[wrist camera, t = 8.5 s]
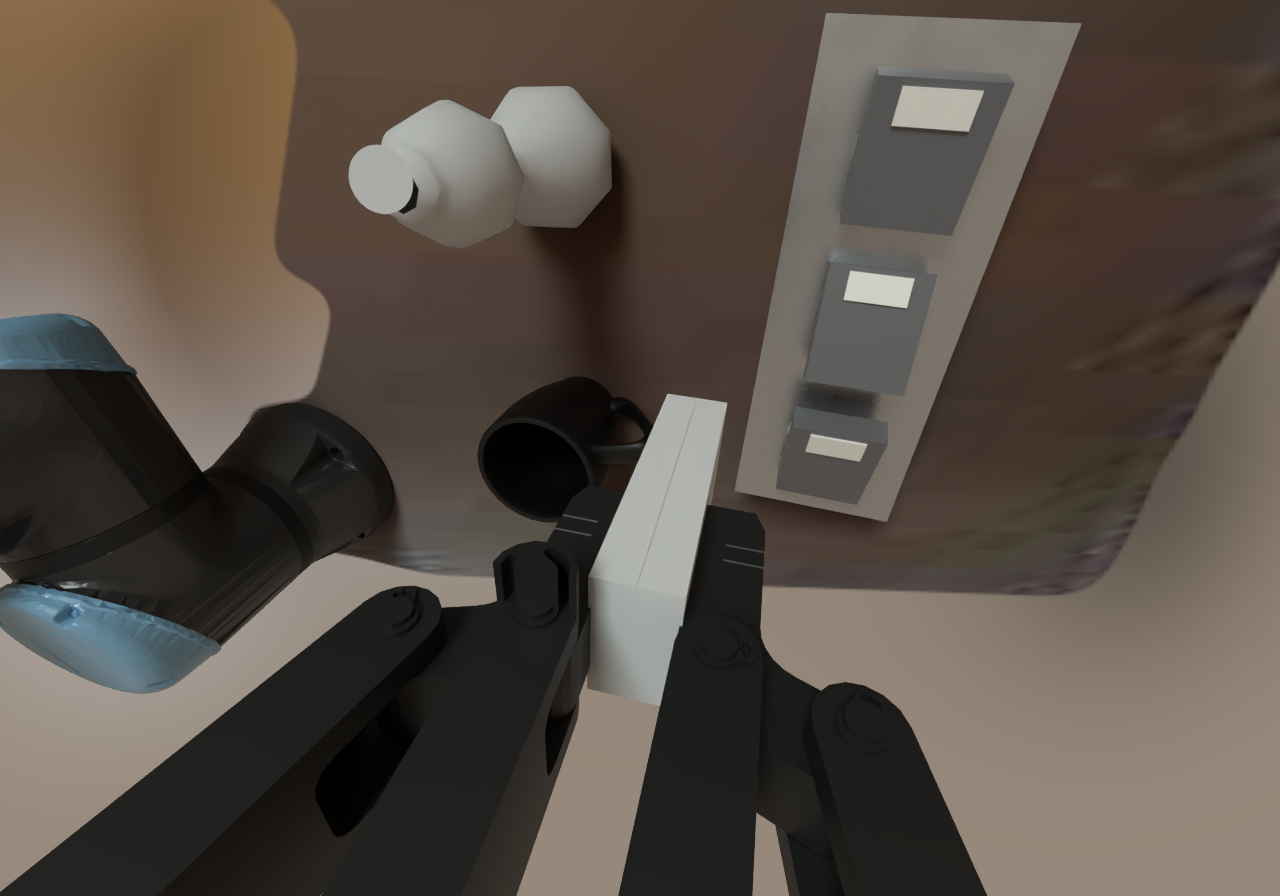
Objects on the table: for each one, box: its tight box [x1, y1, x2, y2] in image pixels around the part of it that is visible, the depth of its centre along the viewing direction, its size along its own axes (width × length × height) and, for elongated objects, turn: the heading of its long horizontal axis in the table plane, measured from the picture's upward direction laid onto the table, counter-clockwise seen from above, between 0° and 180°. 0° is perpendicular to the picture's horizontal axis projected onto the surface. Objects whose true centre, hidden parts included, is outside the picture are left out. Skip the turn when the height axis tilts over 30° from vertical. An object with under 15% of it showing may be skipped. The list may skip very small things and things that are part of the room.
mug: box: [478, 377, 653, 523], centre depth 39 cm, size 8×12×10 cm
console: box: [735, 13, 1082, 522], centre depth 32 cm, size 10×26×6 cm, turn 177°
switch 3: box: [776, 407, 888, 505], centre depth 33 cm, size 5×6×2 cm
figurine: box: [349, 86, 612, 248], centre depth 26 cm, size 8×8×20 cm
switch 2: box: [803, 262, 938, 397], centre depth 28 cm, size 5×6×2 cm
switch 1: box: [840, 67, 1015, 236], centre depth 24 cm, size 5×6×2 cm
